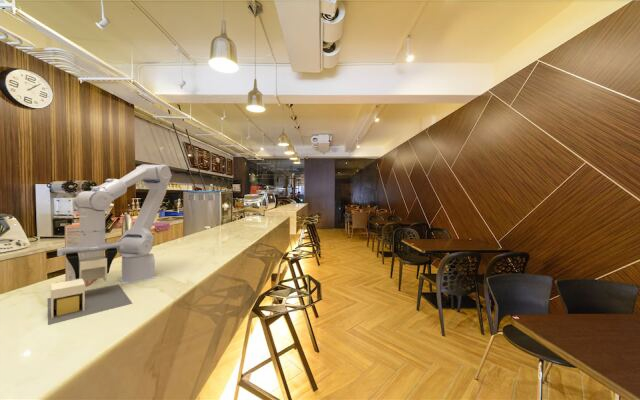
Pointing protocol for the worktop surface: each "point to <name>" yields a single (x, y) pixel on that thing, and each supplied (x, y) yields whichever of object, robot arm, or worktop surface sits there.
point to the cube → (67, 304)
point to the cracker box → (73, 240)
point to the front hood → (67, 292)
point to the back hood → (93, 268)
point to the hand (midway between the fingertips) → (92, 275)
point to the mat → (94, 303)
